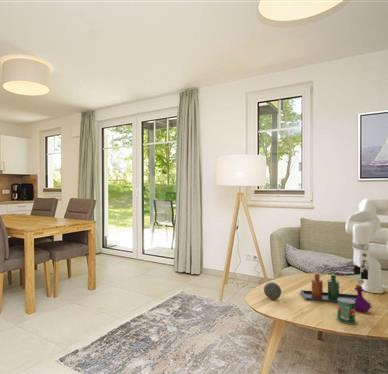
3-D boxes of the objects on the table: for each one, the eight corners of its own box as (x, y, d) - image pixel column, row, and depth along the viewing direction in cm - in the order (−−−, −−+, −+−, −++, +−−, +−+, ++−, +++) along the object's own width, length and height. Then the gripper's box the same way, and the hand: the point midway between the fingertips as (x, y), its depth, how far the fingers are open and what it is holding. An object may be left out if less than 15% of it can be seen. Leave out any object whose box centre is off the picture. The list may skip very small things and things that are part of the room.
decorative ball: (265, 294, 197) (265, 279, 197) (281, 297, 192) (282, 281, 192) (262, 299, 188) (262, 283, 188) (280, 303, 183) (280, 286, 183)
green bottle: (337, 297, 190) (337, 273, 189) (340, 301, 184) (340, 276, 184) (326, 296, 191) (326, 273, 191) (329, 300, 186) (329, 275, 185)
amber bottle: (320, 296, 192) (321, 272, 192) (323, 299, 186) (323, 275, 186) (310, 295, 194) (310, 271, 194) (312, 298, 188) (313, 274, 188)
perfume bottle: (364, 315, 166) (364, 282, 165) (349, 310, 172) (349, 279, 172) (371, 312, 169) (371, 280, 169) (356, 307, 176) (356, 277, 175)
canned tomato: (334, 316, 165) (335, 296, 164) (351, 318, 162) (351, 298, 162) (340, 323, 157) (340, 302, 157) (357, 325, 155) (357, 303, 154)
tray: (360, 298, 189) (360, 295, 189) (369, 307, 176) (370, 303, 176) (300, 293, 199) (300, 290, 199) (305, 301, 186) (305, 297, 186)
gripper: (376, 250, 160) (375, 282, 161) (362, 243, 177) (361, 272, 177) (359, 249, 163) (359, 280, 163) (347, 243, 179) (347, 271, 179)
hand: (360, 276), depth 170 cm, fingers open, 9 cm apart
